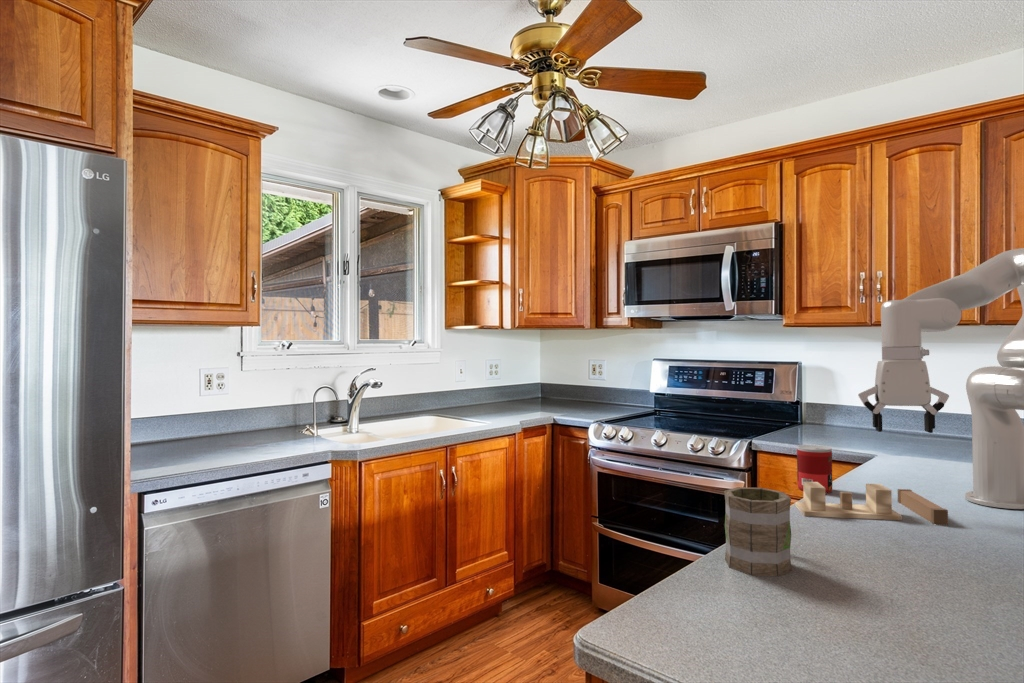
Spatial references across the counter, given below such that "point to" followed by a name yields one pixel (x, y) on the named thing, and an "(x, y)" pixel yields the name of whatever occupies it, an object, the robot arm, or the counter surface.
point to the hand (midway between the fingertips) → (903, 431)
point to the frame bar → (923, 507)
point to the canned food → (814, 466)
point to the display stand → (848, 503)
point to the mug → (758, 531)
